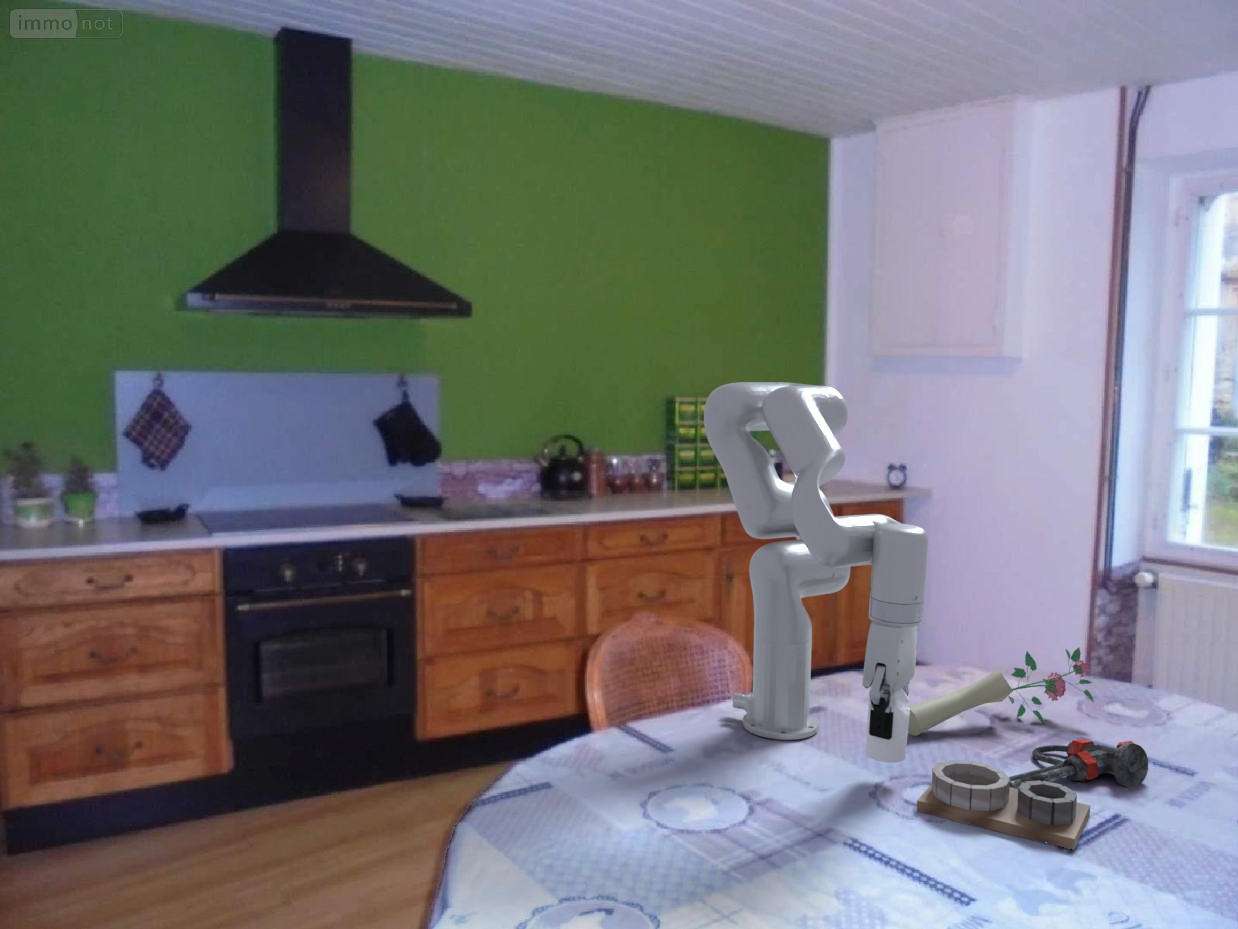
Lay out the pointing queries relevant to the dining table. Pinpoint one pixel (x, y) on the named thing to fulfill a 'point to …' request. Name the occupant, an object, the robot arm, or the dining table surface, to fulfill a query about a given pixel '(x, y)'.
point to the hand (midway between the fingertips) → (887, 728)
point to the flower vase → (991, 695)
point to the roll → (897, 744)
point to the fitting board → (1004, 803)
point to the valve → (1089, 763)
